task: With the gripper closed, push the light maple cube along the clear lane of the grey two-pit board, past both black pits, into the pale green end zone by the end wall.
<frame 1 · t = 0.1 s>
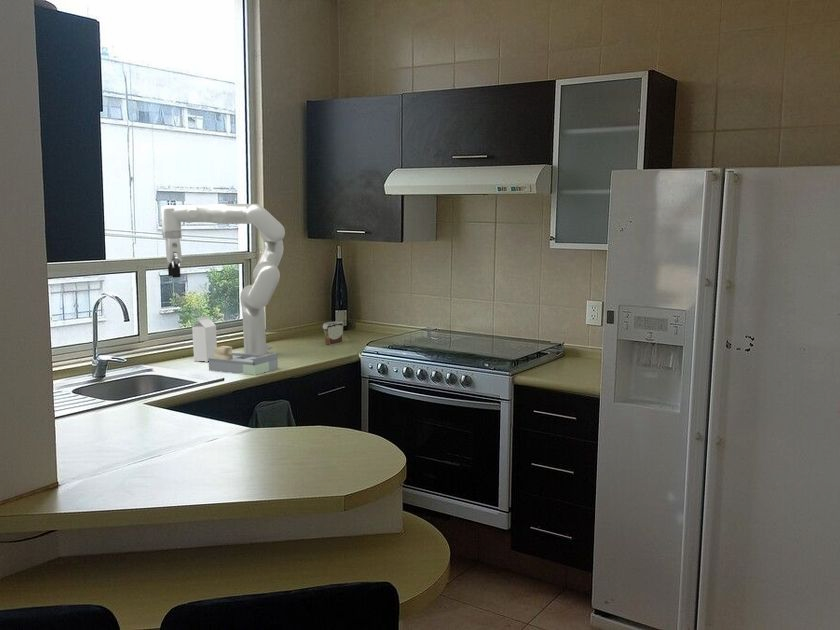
hand: (174, 276, 336), 37 cm above the table, tool pointing down, fingers open, 9 cm apart
food container: (331, 343, 386), on the table
milk carton: (205, 361, 348), on the table
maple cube: (223, 359, 328), point 4 cm above the table, touching two-pit board
two-pit board: (243, 369, 326), on the table
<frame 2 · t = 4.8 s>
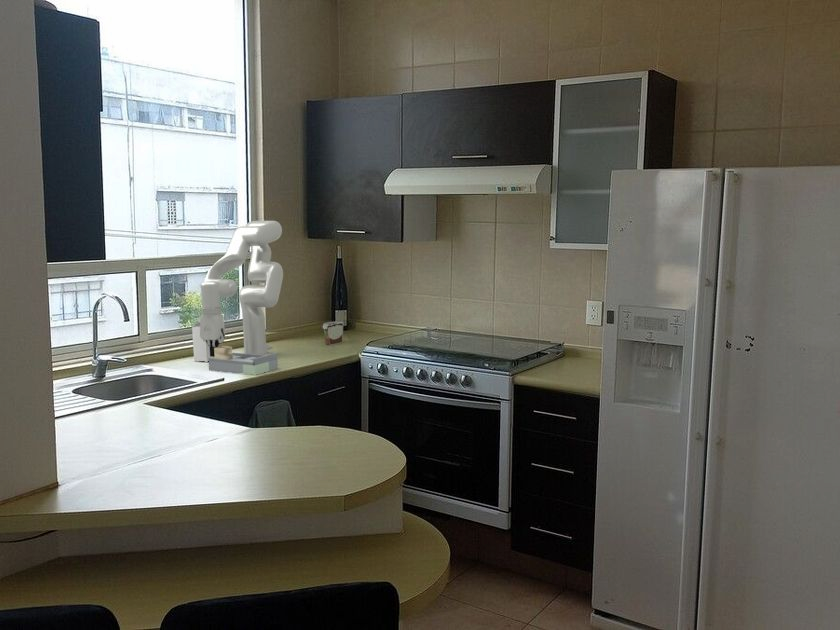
hand: (214, 355, 330), 5 cm above the table, tool pointing down, fingers closed
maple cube: (223, 359, 328), point 4 cm above the table, touching gripper
everything else where it was.
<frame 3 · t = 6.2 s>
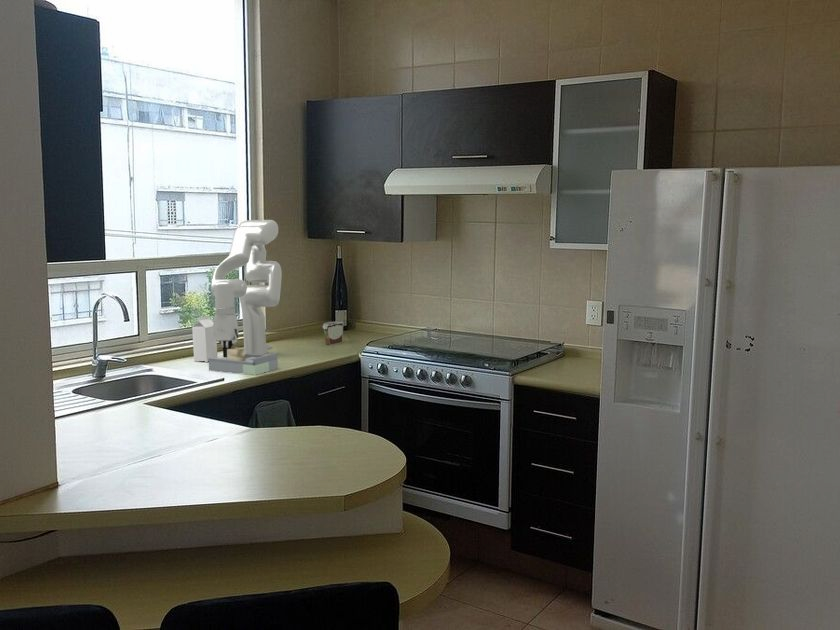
hand: (227, 356, 326), 5 cm above the table, tool pointing down, fingers closed
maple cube: (236, 361, 323), point 4 cm above the table, touching gripper
everything else where it was.
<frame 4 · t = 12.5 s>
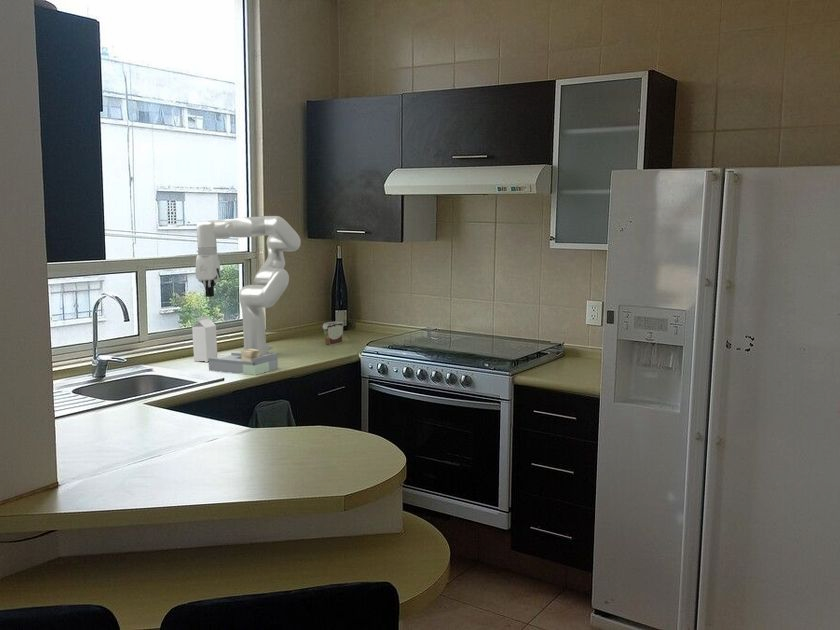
hand: (209, 296, 332), 29 cm above the table, tool pointing down, fingers closed
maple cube: (250, 362, 319), point 4 cm above the table, touching two-pit board
everything else where it was.
at the end: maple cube 1.3 cm from the target spot on the two-pit board, point 4.0 cm above the two-pit board's base; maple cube tilted 2° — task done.
